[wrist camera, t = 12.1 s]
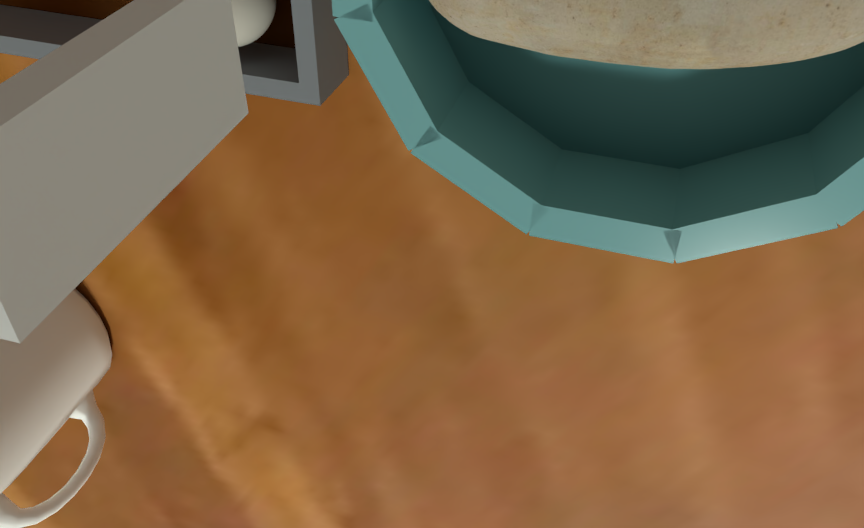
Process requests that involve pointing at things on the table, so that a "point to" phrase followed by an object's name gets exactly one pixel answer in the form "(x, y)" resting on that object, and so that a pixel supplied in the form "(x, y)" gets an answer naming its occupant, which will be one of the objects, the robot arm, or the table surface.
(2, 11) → the tray
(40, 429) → the mug
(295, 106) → the table surface
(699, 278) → the table surface
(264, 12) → the white round ball
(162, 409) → the table surface
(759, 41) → the stone
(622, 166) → the bowl
